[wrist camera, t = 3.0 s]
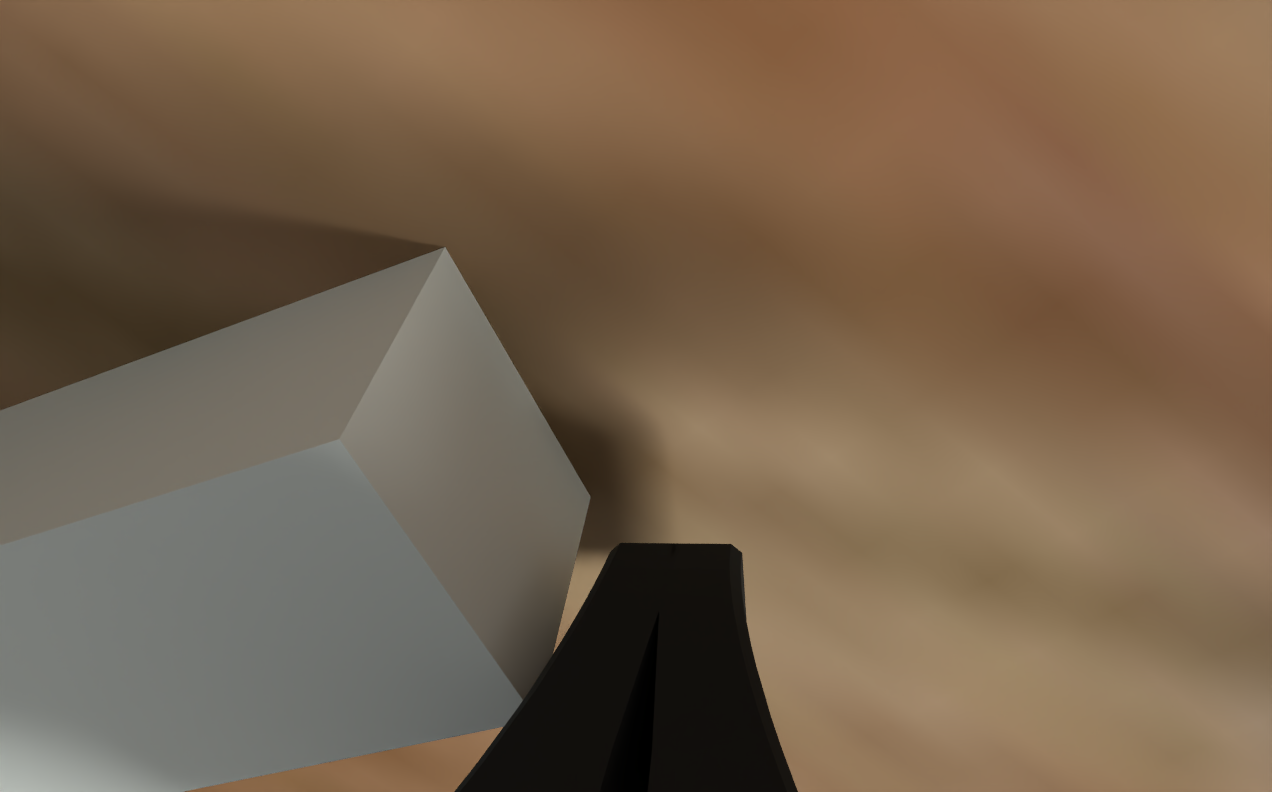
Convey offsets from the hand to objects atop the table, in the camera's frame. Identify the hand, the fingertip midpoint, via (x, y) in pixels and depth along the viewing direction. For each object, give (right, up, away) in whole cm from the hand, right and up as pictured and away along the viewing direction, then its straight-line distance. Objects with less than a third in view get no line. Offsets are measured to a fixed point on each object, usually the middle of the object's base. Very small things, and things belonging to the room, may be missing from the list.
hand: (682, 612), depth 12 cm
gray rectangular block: (-7, +1, +3) cm, 8 cm away
